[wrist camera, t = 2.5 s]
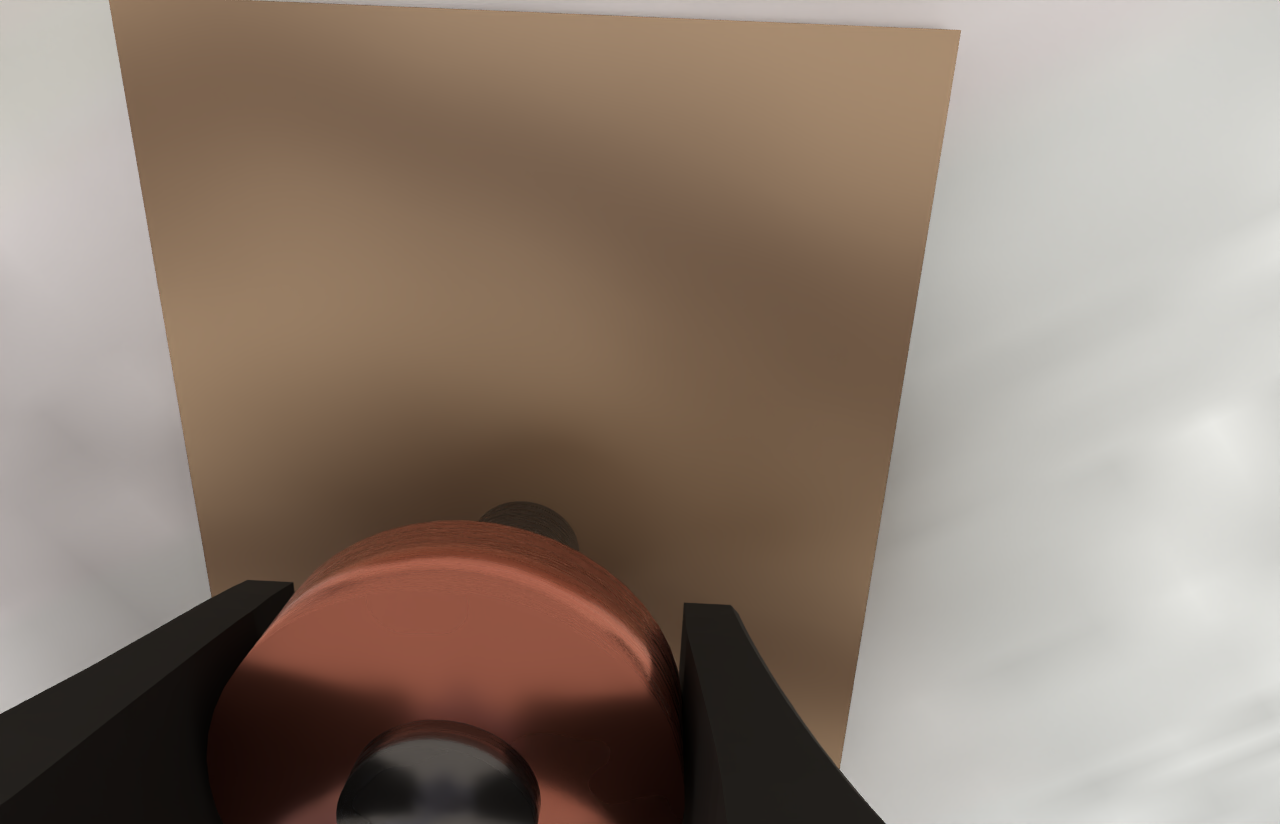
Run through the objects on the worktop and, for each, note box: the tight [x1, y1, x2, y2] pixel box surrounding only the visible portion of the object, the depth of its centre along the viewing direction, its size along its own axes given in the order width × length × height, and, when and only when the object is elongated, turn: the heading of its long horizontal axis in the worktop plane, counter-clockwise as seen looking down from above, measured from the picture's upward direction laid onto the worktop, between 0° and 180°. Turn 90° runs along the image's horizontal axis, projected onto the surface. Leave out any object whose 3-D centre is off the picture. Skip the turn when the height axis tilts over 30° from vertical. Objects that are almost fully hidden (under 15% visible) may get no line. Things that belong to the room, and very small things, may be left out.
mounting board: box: [109, 0, 961, 769], centre depth 15 cm, size 20×12×1 cm, turn 178°
